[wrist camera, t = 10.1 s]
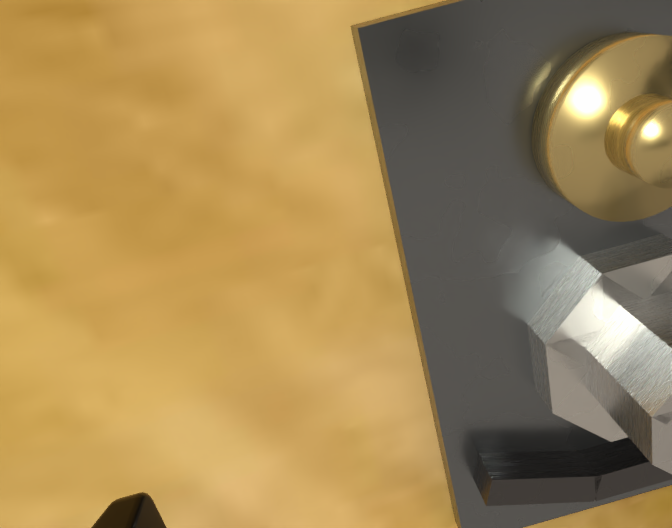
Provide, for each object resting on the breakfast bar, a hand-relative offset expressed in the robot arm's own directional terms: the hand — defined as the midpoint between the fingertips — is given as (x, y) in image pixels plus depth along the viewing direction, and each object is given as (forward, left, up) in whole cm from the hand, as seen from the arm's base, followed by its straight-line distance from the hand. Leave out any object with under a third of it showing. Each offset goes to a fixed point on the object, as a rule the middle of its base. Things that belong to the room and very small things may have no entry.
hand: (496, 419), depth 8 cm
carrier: (-8, +6, -12) cm, 16 cm away
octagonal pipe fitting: (-8, +8, -11) cm, 16 cm away
